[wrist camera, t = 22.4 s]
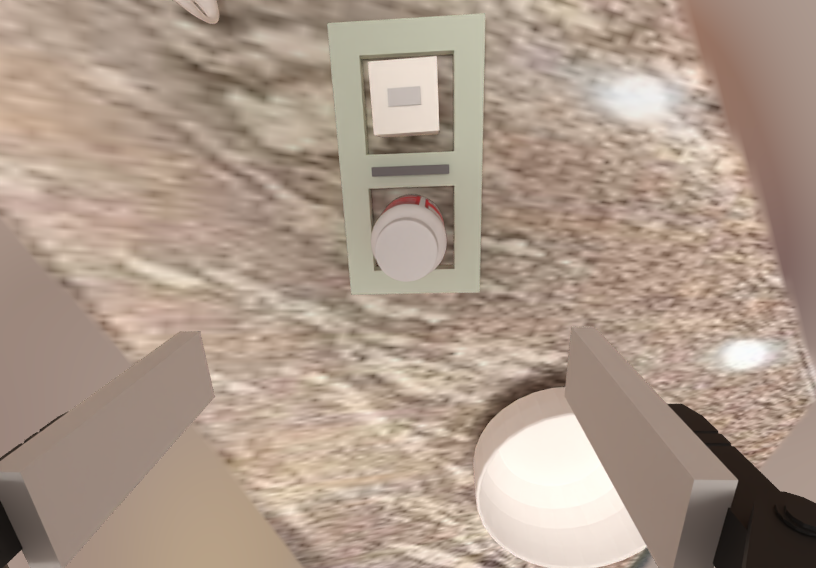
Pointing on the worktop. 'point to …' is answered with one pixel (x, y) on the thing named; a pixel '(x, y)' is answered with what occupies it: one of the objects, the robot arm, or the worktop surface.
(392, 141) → the worktop surface
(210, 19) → the mug
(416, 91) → the block
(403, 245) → the pill bottle
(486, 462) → the bowl
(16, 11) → the worktop surface
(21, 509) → the robot arm
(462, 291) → the faceplate
